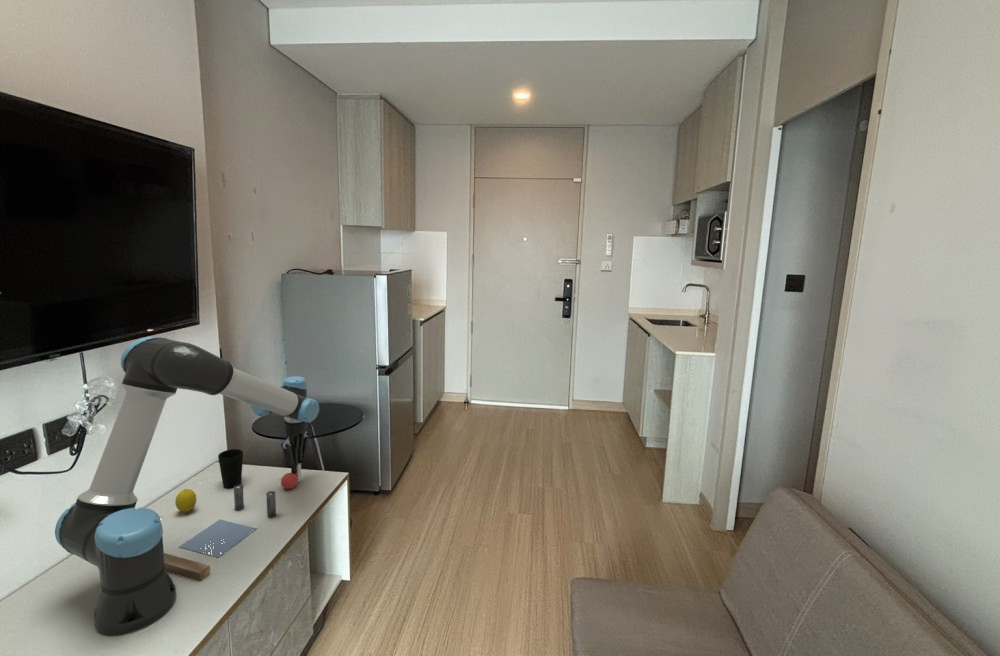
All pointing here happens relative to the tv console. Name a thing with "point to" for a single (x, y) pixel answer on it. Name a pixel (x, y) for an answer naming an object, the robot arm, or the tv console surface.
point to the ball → (289, 480)
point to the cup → (231, 467)
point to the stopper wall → (186, 567)
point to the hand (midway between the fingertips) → (296, 480)
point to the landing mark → (218, 538)
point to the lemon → (185, 500)
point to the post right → (271, 504)
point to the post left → (238, 497)
